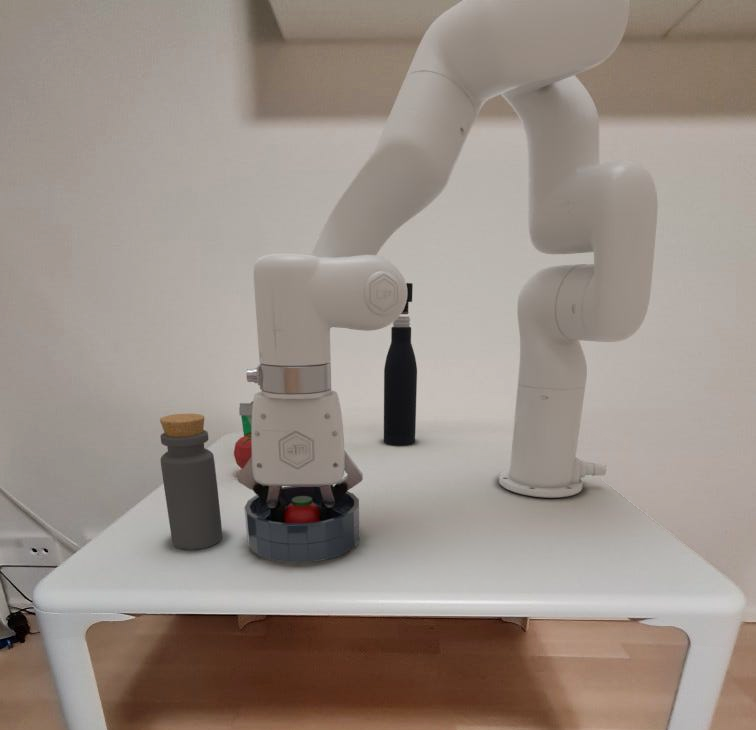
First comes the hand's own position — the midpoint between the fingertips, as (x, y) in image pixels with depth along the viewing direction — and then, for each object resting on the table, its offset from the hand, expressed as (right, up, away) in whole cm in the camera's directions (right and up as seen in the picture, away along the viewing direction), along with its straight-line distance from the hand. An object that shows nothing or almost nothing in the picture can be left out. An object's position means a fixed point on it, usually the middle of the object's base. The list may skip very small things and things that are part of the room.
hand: (303, 533), depth 65 cm
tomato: (-11, +9, +26) cm, 30 cm away
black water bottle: (+13, +16, +46) cm, 50 cm away
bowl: (0, -1, 0) cm, 1 cm away
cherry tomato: (0, 0, 0) cm, 0 cm away
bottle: (-13, -1, +1) cm, 13 cm away
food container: (-11, +14, +39) cm, 43 cm away
